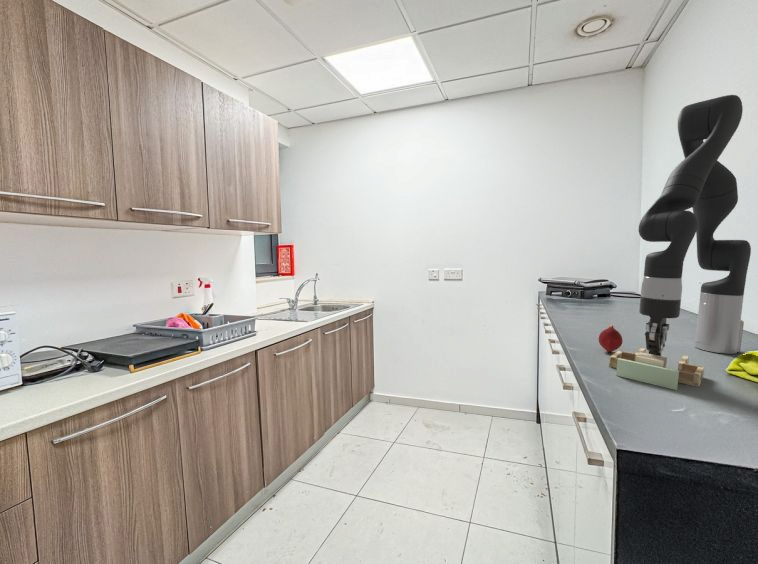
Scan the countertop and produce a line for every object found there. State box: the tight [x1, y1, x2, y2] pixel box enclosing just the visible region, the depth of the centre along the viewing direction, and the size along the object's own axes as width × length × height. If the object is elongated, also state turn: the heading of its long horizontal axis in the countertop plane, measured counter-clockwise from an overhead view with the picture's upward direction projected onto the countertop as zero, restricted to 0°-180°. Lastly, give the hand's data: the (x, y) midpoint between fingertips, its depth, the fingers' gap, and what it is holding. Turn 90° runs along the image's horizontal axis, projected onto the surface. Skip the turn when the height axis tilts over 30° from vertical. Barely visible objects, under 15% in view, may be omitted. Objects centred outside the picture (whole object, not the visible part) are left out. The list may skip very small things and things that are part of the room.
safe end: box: [615, 358, 679, 391], centre depth 78 cm, size 1×11×4 cm, turn 43°
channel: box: [608, 347, 705, 388], centre depth 86 cm, size 22×17×2 cm
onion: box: [598, 324, 624, 353], centre depth 100 cm, size 6×6×8 cm
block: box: [635, 352, 668, 368], centre depth 81 cm, size 5×5×5 cm
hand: (653, 366), depth 84 cm, fingers closed
